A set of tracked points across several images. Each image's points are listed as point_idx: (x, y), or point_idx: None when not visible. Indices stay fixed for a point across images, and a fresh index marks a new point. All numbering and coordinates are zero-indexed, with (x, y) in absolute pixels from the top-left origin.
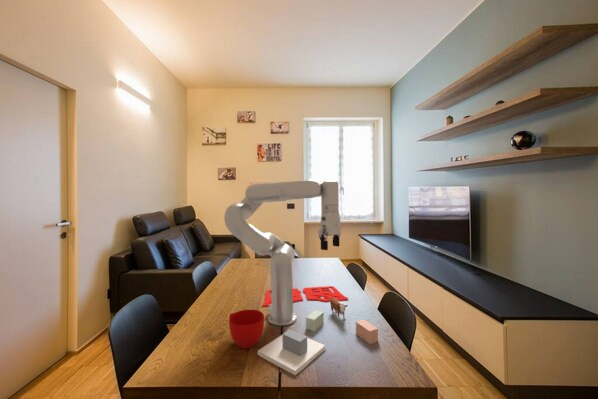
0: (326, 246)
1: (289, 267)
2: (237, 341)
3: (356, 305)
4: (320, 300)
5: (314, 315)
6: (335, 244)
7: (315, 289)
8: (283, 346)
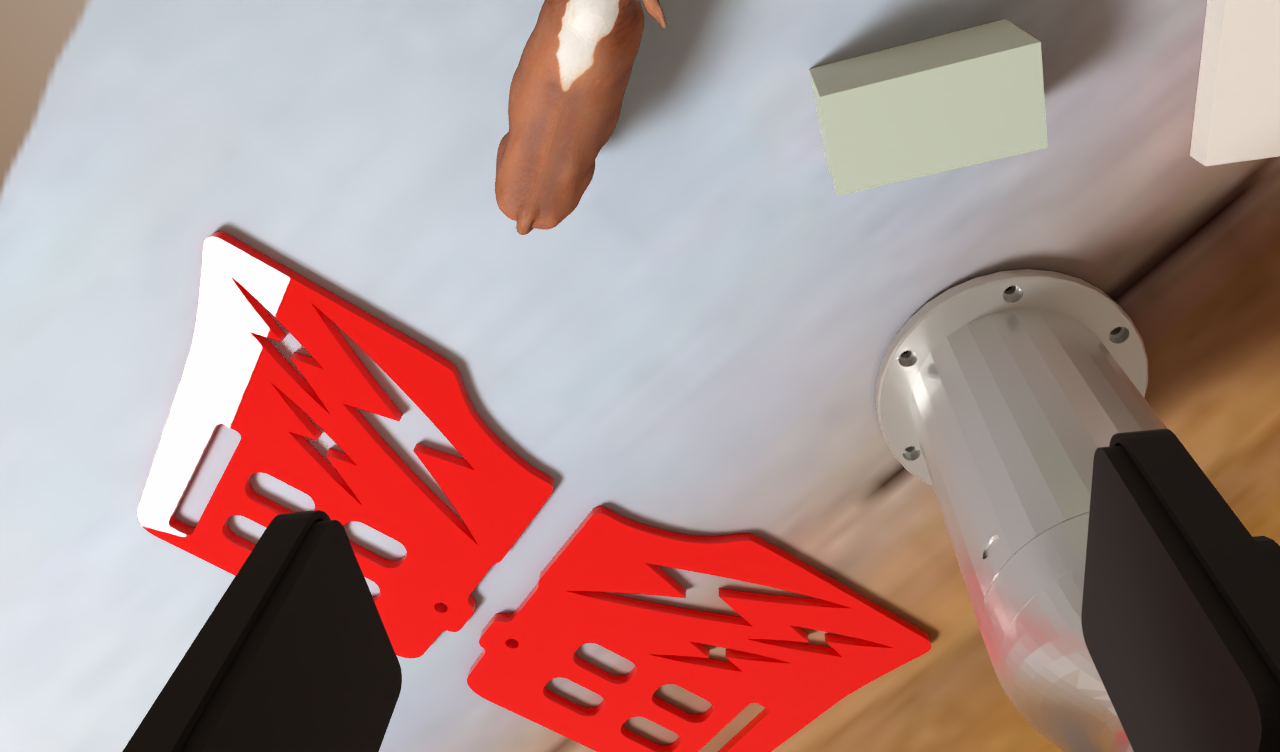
0: (1224, 532)
1: None
2: None
3: (233, 85)
4: (468, 404)
5: (953, 112)
6: (358, 639)
7: None
8: None
